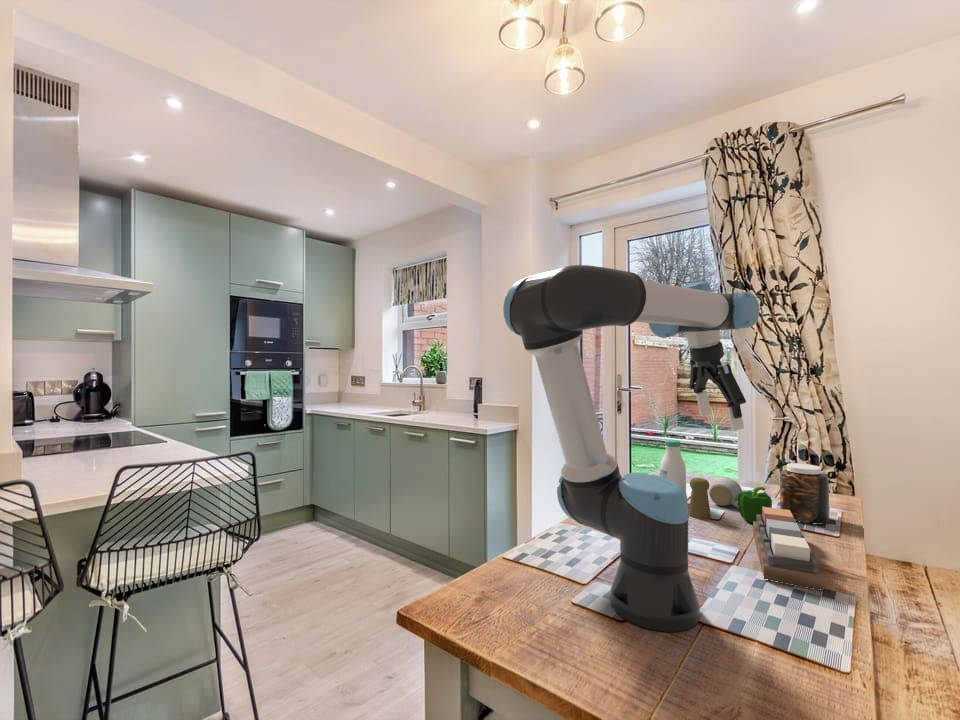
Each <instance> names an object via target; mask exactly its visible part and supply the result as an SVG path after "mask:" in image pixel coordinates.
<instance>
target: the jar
mask: <svg viewBox="0 0 960 720" xmlns="http://www.w3.org/2000/svg"><path fill="white" fill-rule="evenodd" d="M829 484H830V483H829V477H828V475H827V474H824V473H822V467H821V466H818V465H816V464H815V465H814V464H809V463H808V464H807V463H798V462H796V463H795V462H793V463H792V462H791V463H787V464H786V469H783V470H782V471H780V475H779V509H785V510H790V511H791V513H792V515H793V517H794V519H795V520H796V521H800V522H804V523H803V524H805V523H826V522H828V521H829V522H830V487H829ZM800 522H799V523H800ZM829 522H828V523H829ZM826 524H827V523H826Z"/></svg>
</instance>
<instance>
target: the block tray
mask: <svg viewBox="0 0 960 720" xmlns="http://www.w3.org/2000/svg"><path fill="white" fill-rule="evenodd" d="M794 523H797V525H798V527H799V529H800V530H801V528H800V526H799V524H798V522H796V520H795V519H794ZM752 533H753V537H754V543H755V546H756V550H757V556H758V559H759V564H760V568H761V572H762V576H764V577H763V580H764V579H768V580H773V581H778V582H783V583H788V584H793V585H797V586H796V587H798V586H801V587H800V588H803V587H808V588H807V589H809V588H814V589H821V590H824V591H825V576H824V573H823V572H822V569H821V568H820V566H819V563H818V560H817V559H816V557H815V555H814V553H813V551H812V550H811V548H810V561H803V560H797V559H791V558H785V557H779V556H774V554H773V551H772V548H771V539H770V538H768V535H767V531H766V524H764V522H763V519H762V515H759V514H757V521H753V523H752ZM801 538H805V535H804V534H803V532H801ZM805 540H806V538H805ZM806 542H807V544H808V546H809V543H808V541H807V540H806ZM809 547H810V546H809ZM793 585H792V586H793ZM814 589H813V590H814Z"/></svg>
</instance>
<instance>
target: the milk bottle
mask: <svg viewBox="0 0 960 720" xmlns="http://www.w3.org/2000/svg"><path fill="white" fill-rule="evenodd" d="M681 443H682V442H681V441H680V440H676V439H667V440H665V442H664V447H665V452H664V455H663V457H662V459H661V461H660V468H659V476H661V477H664V478H667V479H669V480H671V481H674V482H675V483H677V484H678V485H680V486H681V487H682V488H683V489H684V491H685V493H686V494H687V471H686V469H687V468H686V463H685V461H684V459H683V457H682V454H681Z"/></svg>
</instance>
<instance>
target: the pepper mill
mask: <svg viewBox="0 0 960 720" xmlns="http://www.w3.org/2000/svg"><path fill="white" fill-rule="evenodd" d="M689 487H690V489H691V492H690V493H691V494H690V501H689V507H688V510H689V518H693V519H698V520H710V519H711V518H712V515H711V507H710V501H709V500H710V499H709V494H708V493H709V492H708V490H710V482H709V481H708V479H706V478H704V477H693V478H691V479H690V480H689ZM710 517H711V518H710ZM709 518H710V519H709Z"/></svg>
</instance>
